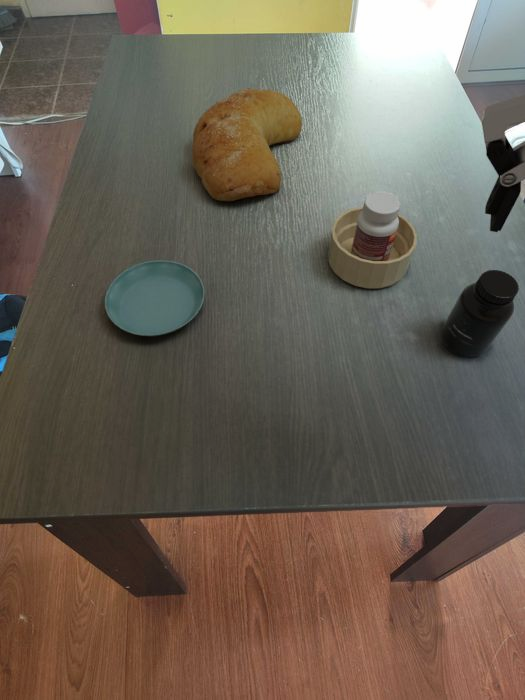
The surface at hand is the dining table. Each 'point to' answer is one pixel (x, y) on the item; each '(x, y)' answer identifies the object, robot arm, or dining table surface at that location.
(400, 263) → the beige round bowl
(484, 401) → the dining table surface
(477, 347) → the supplement bottle
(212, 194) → the bread
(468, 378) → the dining table surface
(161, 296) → the saucer
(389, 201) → the pill bottle
